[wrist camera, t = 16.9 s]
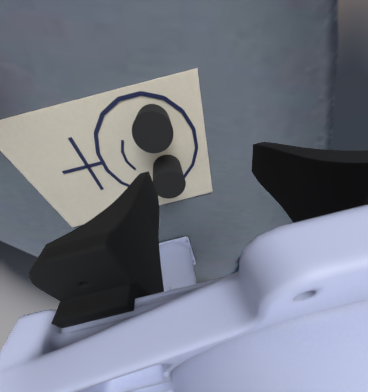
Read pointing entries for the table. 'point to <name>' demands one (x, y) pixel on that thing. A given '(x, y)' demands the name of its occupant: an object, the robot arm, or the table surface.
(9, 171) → the table surface
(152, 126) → the black cylinder
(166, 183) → the black cylinder
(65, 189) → the drawing card
